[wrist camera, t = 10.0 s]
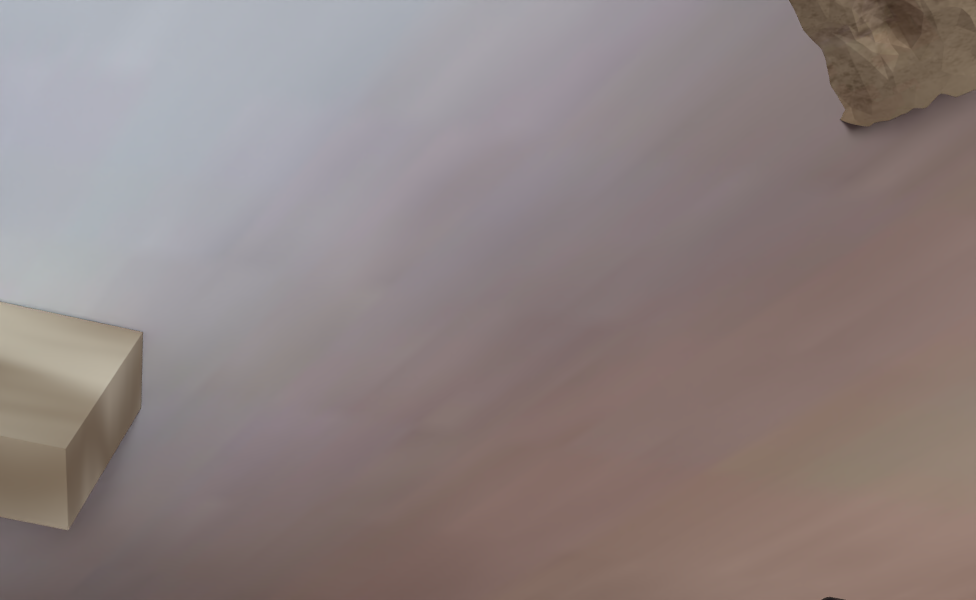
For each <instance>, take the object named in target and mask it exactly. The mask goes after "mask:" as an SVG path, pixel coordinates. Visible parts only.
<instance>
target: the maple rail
mask: <svg viewBox="0 0 976 600" xmlns="http://www.w3.org/2000/svg"><path fill="white" fill-rule="evenodd" d="M142 344H143V332H140V331H135V330H130V329H125V328H121V327H116V326H111V325H107V324H102V323H97V322H93V321H88V320H83V319H79V318H74V317H69V316H65V315H60V314H55V313H50V312H46V311H41V310H36V309H32V308H27V307H22V306H18V305H13V304H8V303H4V302H0V517H3V518H8V519H13V520H19V521H24V522H29V523H34V524H39V525H44V526H49V527H54V528H59V529H64V530H69V529H70V527H71V525H72V523H73V522H74V520H75V518H76V517H77V515H78V513H79V512H80V510H81V508H82V507H83V505H84V503H85V502H86V500H87V498H88V496H89V495H90V493H91V491H92V490H93V488H94V486H95V485H96V483H97V481H98V480H99V478H100V476H101V475H102V473H103V471H104V469H105V468H106V466H107V464H108V463H109V461H110V459H111V458H112V456H113V454H114V453H115V451H116V449H117V448H118V446H119V444H120V442H121V441H122V439H123V437H124V436H125V434H126V432H127V431H128V429H129V427H130V426H131V424H132V422H133V421H134V419H135V417H136V415H137V414H138V412H139V410H140V409H141V386H142Z"/></svg>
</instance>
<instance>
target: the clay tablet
mask: <svg viewBox="0 0 976 600" xmlns="http://www.w3.org/2000/svg"><path fill="white" fill-rule="evenodd" d="M789 1H790V3H791V5H792V6H793V8H794V10H795V12H796V14H797V17H798V19H799V21H800V24H801V26H802V28H803V30H804V31H805V32H806V34H807V35H808V36H809V37H810V38H811V39H812V40H813V41H814V42H815V43H816V44H817V45H818V46H819V47H820V48H821V49H822V51H823V54H824V56H825V59H826V64H827V69H828V74H829V79H830V84H831V87H832V88H833V90H834V91H835V93H836V94H837V96H838V98H839V100H840V101H841V103H842V104H843V106H844V108H845V109H846V110H845V112H844V113H843V115H842V118H841V119H840V120H842V121H845V122H847V123H851V124H855V125H860V126H871V125H872V124H873V123H875V122H880V121H889V120H891V119H894V118H896V117H898V116H900V115H902V114H905V113H908V112H909V111H910V110H912V109H913V108H927V107H928V106H929V105H930V103H931V102H932V101H933V100H934V99H935V98H936V97H937V96H938V95H939V94H947V95H950V96H954V97H958V96H960V95H963V94H965V93H968V92H970V91H972V90H976V0H789Z"/></svg>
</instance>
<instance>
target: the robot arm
mask: <svg viewBox="0 0 976 600" xmlns="http://www.w3.org/2000/svg"><path fill="white" fill-rule="evenodd" d="M822 600H844V599H839V598H833V597H826V598H824V599H822Z"/></svg>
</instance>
